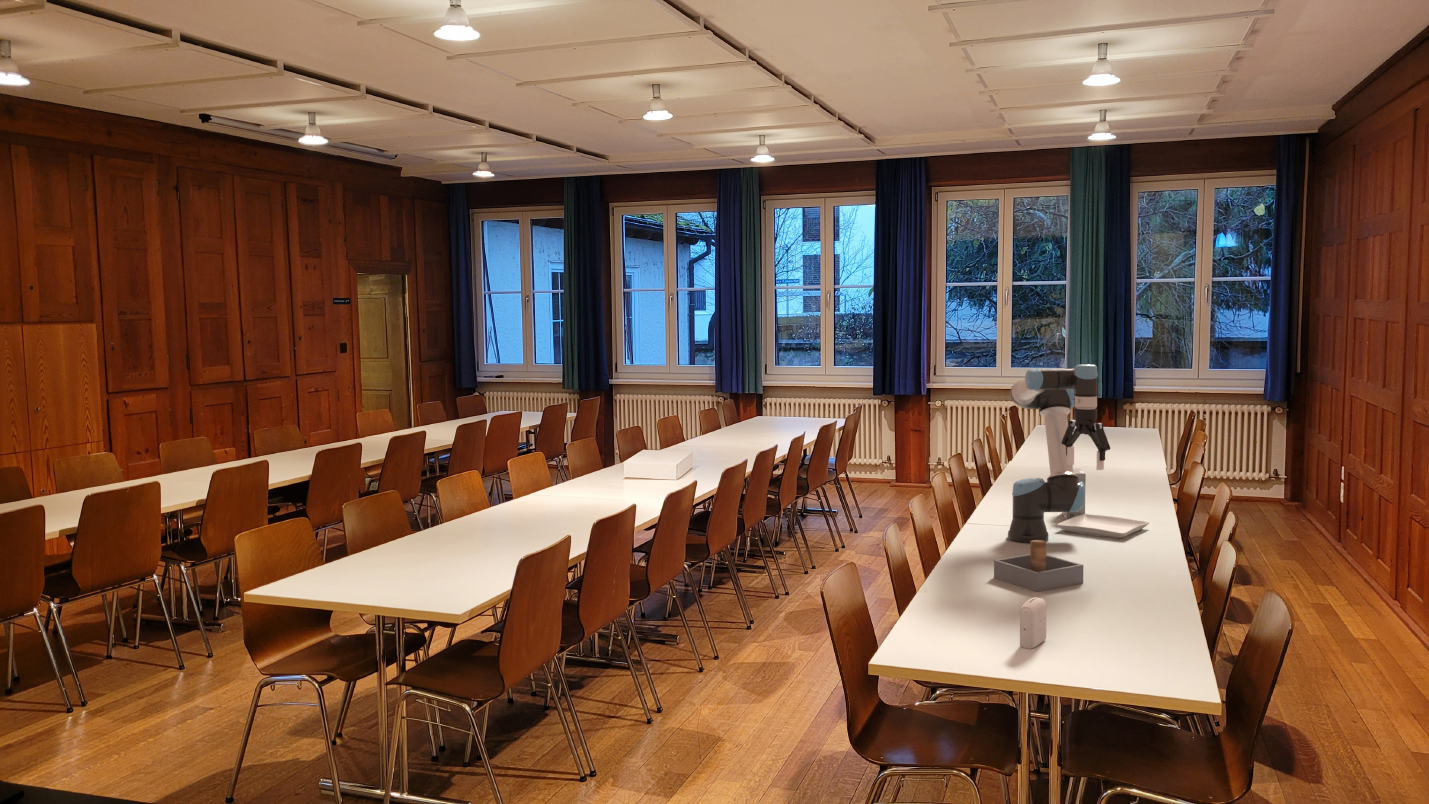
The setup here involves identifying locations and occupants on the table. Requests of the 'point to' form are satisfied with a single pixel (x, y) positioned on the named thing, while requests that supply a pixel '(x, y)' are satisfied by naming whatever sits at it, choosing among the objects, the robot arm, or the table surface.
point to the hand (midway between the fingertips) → (1085, 467)
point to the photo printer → (1032, 623)
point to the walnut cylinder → (1038, 555)
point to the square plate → (1102, 525)
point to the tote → (1038, 573)
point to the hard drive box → (1082, 478)
